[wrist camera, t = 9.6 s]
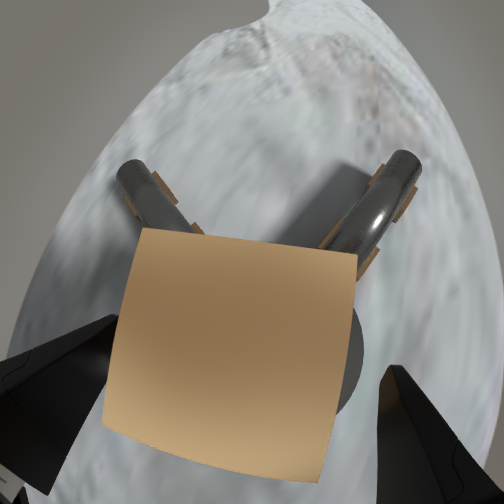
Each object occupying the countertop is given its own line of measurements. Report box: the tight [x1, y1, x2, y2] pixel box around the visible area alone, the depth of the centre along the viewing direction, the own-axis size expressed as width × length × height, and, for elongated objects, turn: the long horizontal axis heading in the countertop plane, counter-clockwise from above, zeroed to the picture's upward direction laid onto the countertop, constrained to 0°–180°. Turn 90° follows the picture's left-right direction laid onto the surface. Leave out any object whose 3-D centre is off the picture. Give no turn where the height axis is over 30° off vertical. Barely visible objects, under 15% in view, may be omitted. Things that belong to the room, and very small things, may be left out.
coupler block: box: [102, 228, 358, 483], centre depth 11 cm, size 5×5×12 cm
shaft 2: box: [317, 150, 422, 282], centre depth 17 cm, size 10×3×4 cm, turn 139°
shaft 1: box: [116, 159, 205, 235], centre depth 19 cm, size 10×3×4 cm, turn 39°
